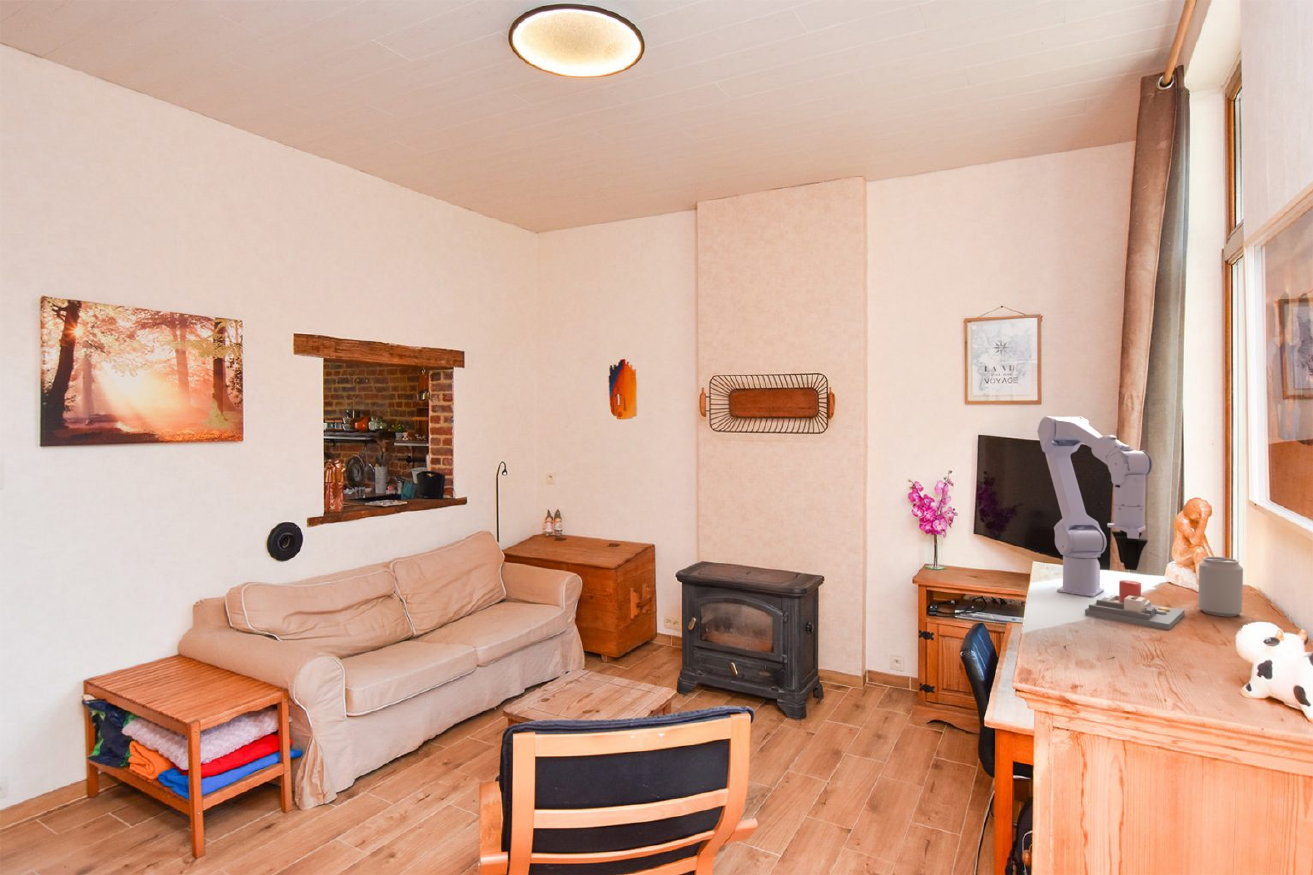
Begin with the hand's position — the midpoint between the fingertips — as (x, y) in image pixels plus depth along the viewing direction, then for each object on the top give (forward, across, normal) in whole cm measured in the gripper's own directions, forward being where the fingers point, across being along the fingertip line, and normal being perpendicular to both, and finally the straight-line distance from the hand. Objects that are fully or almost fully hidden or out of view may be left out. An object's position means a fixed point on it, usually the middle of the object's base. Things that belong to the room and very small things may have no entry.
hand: (1128, 566), depth 156 cm
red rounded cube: (+9, 0, 0) cm, 9 cm away
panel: (+10, +4, +1) cm, 11 cm away
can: (+10, -7, +18) cm, 21 cm away
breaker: (+8, +8, 0) cm, 11 cm away
